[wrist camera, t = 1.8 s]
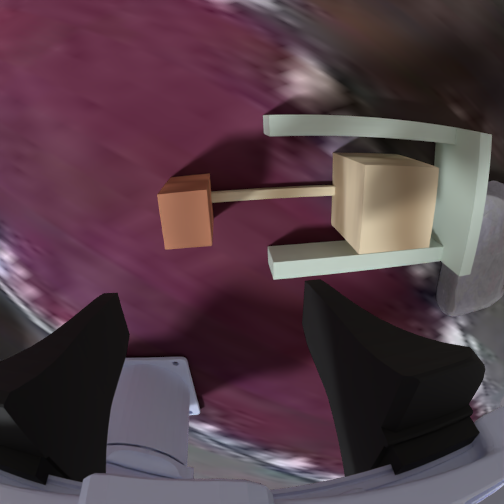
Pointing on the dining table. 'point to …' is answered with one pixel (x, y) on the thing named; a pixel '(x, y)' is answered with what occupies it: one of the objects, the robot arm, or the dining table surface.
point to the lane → (446, 208)
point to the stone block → (478, 264)
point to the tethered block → (342, 191)
